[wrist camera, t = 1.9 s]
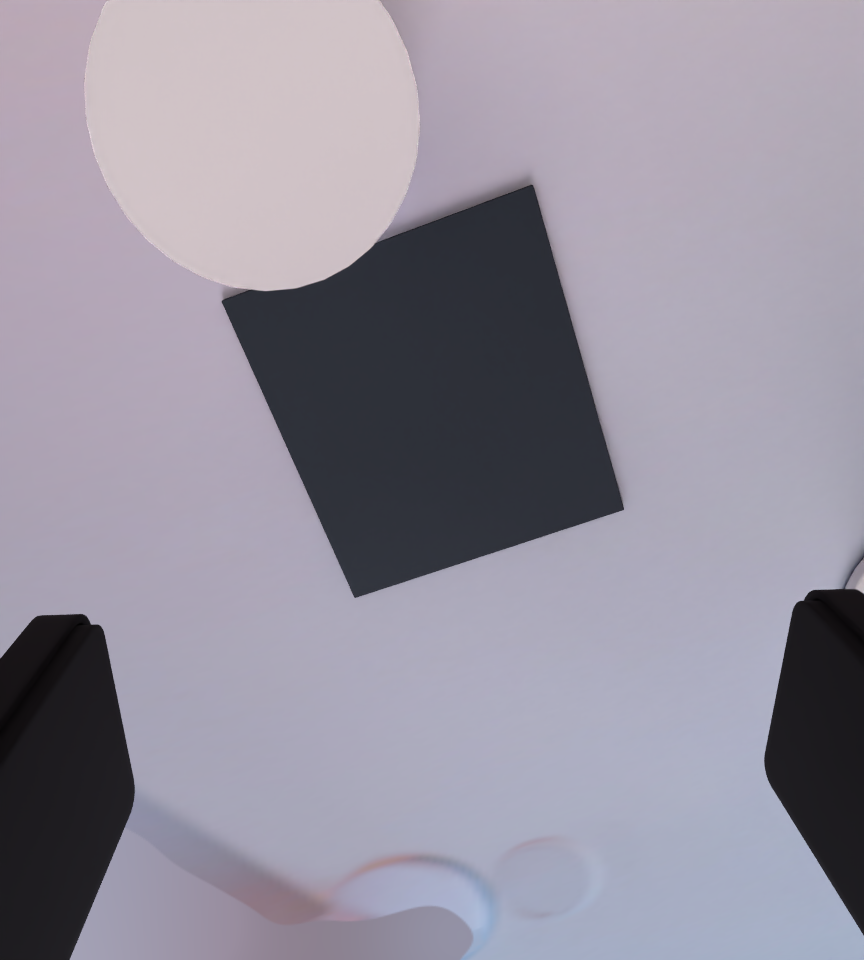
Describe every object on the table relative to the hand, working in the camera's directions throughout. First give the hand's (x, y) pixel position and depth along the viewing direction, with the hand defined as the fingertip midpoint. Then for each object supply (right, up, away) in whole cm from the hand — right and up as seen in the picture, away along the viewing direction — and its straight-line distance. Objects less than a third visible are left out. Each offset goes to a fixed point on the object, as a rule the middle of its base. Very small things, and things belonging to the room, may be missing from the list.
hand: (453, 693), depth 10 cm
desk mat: (0, +7, +34) cm, 35 cm away
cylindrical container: (-5, +20, +29) cm, 36 cm away
